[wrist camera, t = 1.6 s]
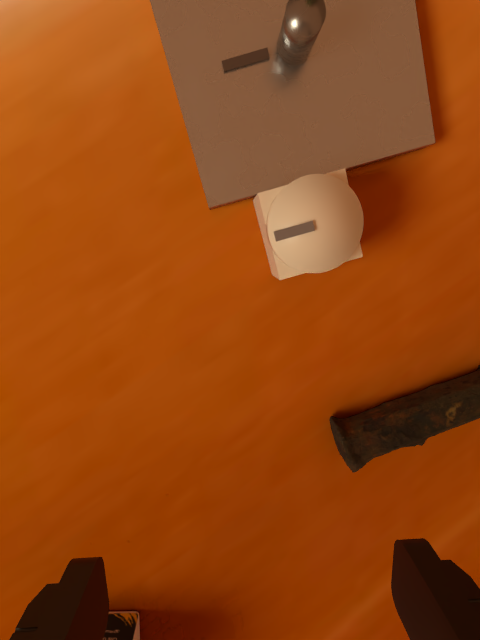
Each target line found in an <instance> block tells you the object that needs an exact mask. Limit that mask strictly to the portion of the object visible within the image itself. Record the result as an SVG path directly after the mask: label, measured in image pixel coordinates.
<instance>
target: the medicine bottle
mask: <svg viewBox="0 0 480 640" xmlns="http://www.w3.org/2000/svg"><path fill="white" fill-rule="evenodd" d="M103 640H140V622H139V613H138V612H137V611H109V614H108V622H107V627H106V631H105V634H104V638H103Z"/></svg>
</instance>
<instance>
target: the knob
mask: <svg viewBox="0 0 480 640" xmlns="http://www.w3.org/2000/svg"><path fill="white" fill-rule="evenodd" d="M253 202H254V206H255V210H256V214H257V218H258V222H259V226H260V229H261V233H262V237H263V241H264V245H265V249H266V253H267V257H268V261H269V264H270V268H271V272H272V275H273V276H275V277H276V278H278V279H279V280H282V279H286V278H289V277H293V276H296V275H300V274H303V273H322V272H326V271H329V270H332V269H334V268H336V267H338V266H340V265H341V264H343V263H344V262H346V261H349V260H353V259H356V258H360V257H363V255H362V250H361V245H360V239H361V236H362V232H363V226H364V217H363V210H362V206H361V204H360V201H359V199H358V197H357V195H356V194H355V192H354V191H353V190H352V189H351V188H350V187H349V184H348V179H347V174H346V169H345V168H344V169H340V170H337V171H333V172H330V173H326V174H310V175H305V176H303V177H300V178H298V179H296V180H294V181H292V182H291V183H289V184H288V185H285V186H281V187H278V188H274V189H271V190H267V191H264V192H260V193H258V194H257V195H256V197H255V198H254V200H253Z"/></svg>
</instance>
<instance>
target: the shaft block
mask: <svg viewBox="0 0 480 640" xmlns="http://www.w3.org/2000/svg"><path fill="white" fill-rule="evenodd" d="M150 2H151V5H152V9H153V12H154V16H155V19H156V23H157V26H158V30H159V34H160V37H161V41H162V44H163V48H164V51H165V55H166V58H167V62H168V65H169V69H170V72H171V76H172V79H173V83H174V86H175V90H176V93H177V97H178V100H179V104H180V107H181V111H182V114H183V118H184V121H185V125H186V128H187V132H188V135H189V139H190V142H191V146H192V149H193V153H194V156H195V160H196V164H197V167H198V171H199V174H200V178H201V181H202V185H203V188H204V192H205V195H206V199H207V202H208V206H209V209H210V210H211V209H214V208H218V207H221V206H225V205H228V204H232V203H235V202H239V201H242V200H246V199H249V198H252V197H256V195H257V194H258V193H260V192H264V191H267V190H271V189H274V188H278V187H281V186H285V185H288V184H289V183H291V182H292V181H294V180H296V179H298V178H300V177H303V176H305V175H310V174H326V173H330V172H333V171H337V170H340V169H344V168H345V169H346V170H350V169H353V168H357V167H360V166H364V165H367V164H371V163H374V162H378V161H381V160H385V159H388V158H392V157H395V156H399V155H402V154H406V153H409V152H413V151H416V150H419V149H423V148H425V147H427V146H430V145H432V144H434V143H435V136H434V129H433V122H432V115H431V108H430V101H429V95H428V88H427V81H426V74H425V67H424V60H423V53H422V46H421V39H420V32H419V25H418V18H417V11H416V4H415V0H150Z"/></svg>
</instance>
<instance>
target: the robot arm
mask: <svg viewBox="0 0 480 640" xmlns="http://www.w3.org/2000/svg"><path fill="white" fill-rule="evenodd" d="M391 588H392V595H393V600H394V603H395V607H396V609H397V612H398V614H399V616H400V619H401V621H402V623H403V625H404V627H405V629H406V631H407V634H408V636H409V638H410V640H480V589H479V588H478V586H477V585H476V583H475V582H474V581H473V579H472V578H471V577H470V576H469V575H468V574H467V573H465V572H464V571H463V570H462V569H461V568H459V567H458V566H457V565H456V564H455V563H453V562H452V561H451V560H440V558H439V557H438V555H437V554H436V552H435V551H434V549H433V548H432V546H431V545H430V544H429V542H428V541H427V540H425V539H423V538H422V539H405V540H396V541H395V544H394V555H393V568H392V581H391ZM108 614H109V599H108V591H107V584H106V576H105V569H104V562H103V559H102V557H92V558H76V559H72V560H71V561H70V562H69V564H68V566H67V568H66V570H65V572H64V574H63V576H62V578H61V580H60V582H59V583H56V584H47V585H46V586H45V587H44V588H43V589H42V590H41V591H40V592H39V594H38V595H37V596H36V597H35V598H34V599H33V600H32V601H31V602H30V603H29V604H28V606H27V608H26V610H25V612H24V614H23V615H22V617H21V619H20V621H19V623H18V625H17V627H16V630H15V633H13V634H12V636H11V638H10V640H103V638H104V634H105V631H106V627H107V622H108Z"/></svg>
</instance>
